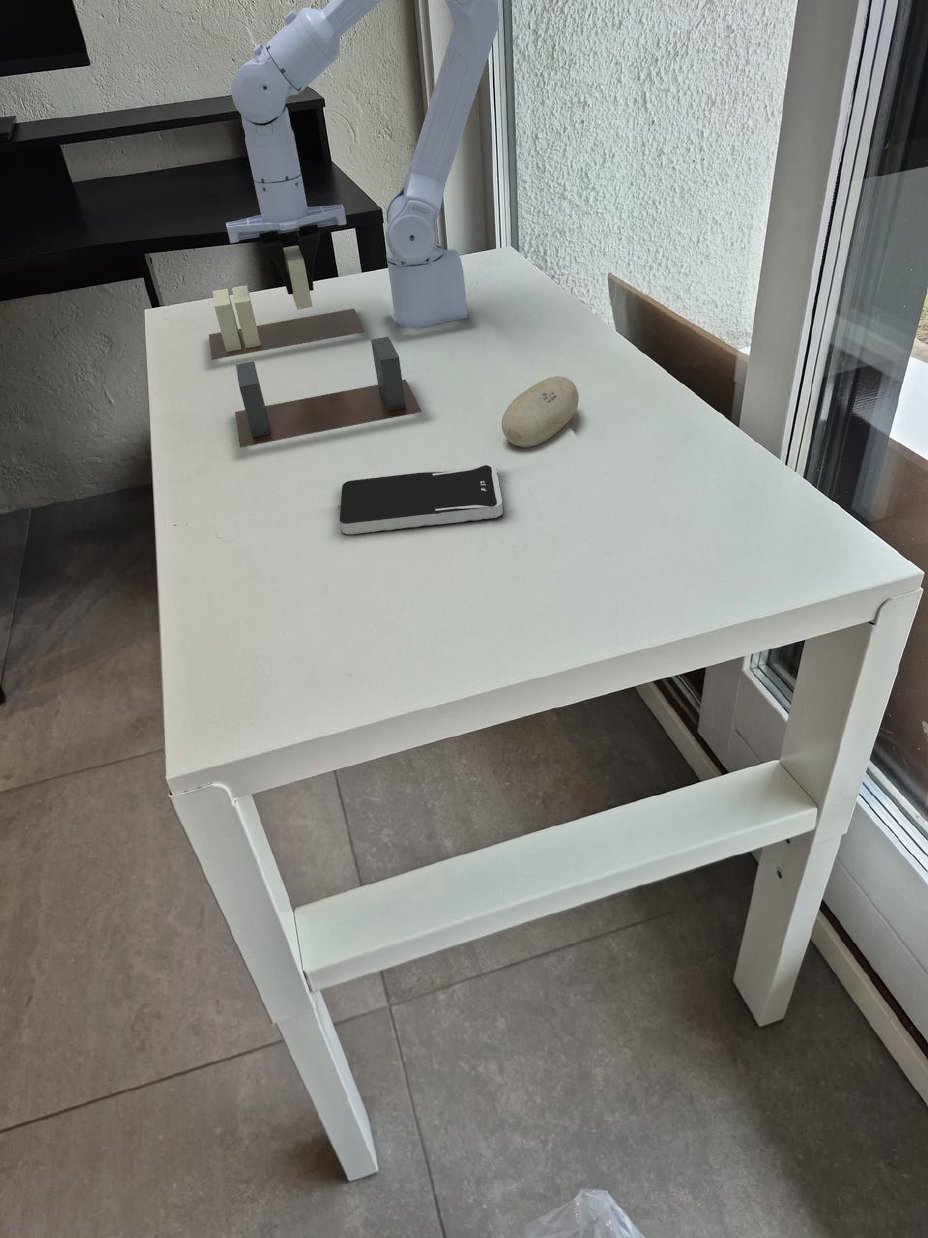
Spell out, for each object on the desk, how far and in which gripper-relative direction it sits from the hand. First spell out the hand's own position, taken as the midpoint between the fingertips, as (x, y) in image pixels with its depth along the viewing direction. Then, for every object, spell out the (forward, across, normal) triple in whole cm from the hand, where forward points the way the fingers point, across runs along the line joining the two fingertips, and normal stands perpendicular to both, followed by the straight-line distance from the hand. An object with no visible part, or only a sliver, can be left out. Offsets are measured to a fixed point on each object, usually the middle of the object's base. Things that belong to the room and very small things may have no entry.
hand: (300, 290), depth 117 cm
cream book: (+1, 0, 0) cm, 1 cm away
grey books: (+5, -1, -26) cm, 26 cm away
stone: (+6, +20, -38) cm, 43 cm away
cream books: (+5, -9, 0) cm, 10 cm away
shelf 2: (+6, -1, -26) cm, 26 cm away
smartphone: (+6, +5, -47) cm, 48 cm away
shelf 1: (+6, -3, 0) cm, 7 cm away
